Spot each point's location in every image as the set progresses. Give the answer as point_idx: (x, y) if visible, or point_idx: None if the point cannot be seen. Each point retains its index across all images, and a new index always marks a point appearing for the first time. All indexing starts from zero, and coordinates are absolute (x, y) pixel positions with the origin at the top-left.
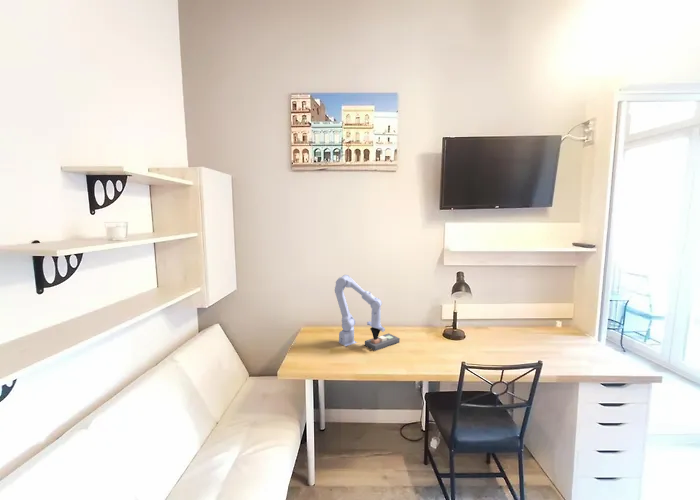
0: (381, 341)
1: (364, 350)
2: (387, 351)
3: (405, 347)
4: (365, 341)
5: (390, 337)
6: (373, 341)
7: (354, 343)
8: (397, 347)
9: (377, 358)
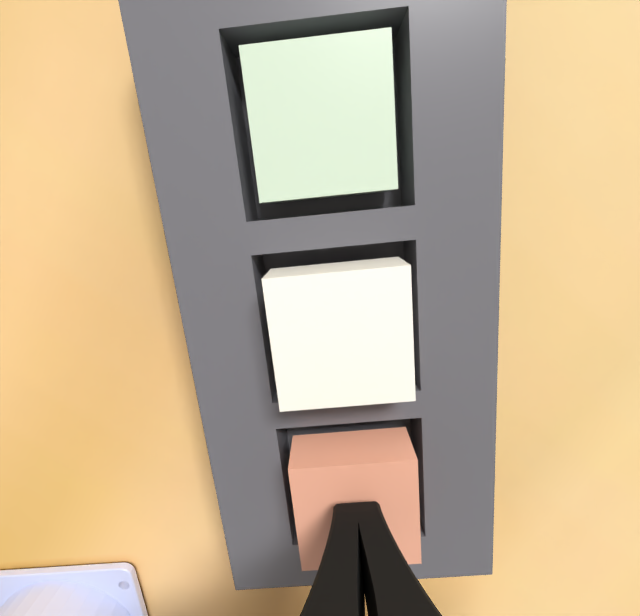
0: None
1: None
2: (570, 385)
3: None
4: (251, 585)
5: (357, 107)
6: None
7: (142, 597)
8: (577, 158)
9: (620, 585)
